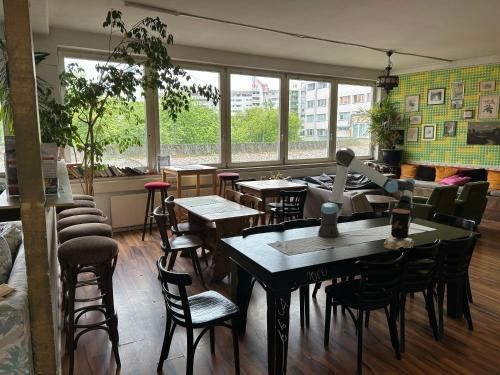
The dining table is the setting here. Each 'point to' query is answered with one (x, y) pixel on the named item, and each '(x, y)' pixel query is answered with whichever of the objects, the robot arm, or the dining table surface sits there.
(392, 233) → the coffee jar
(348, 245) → the dining table surface
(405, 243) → the cream lumpy slab
